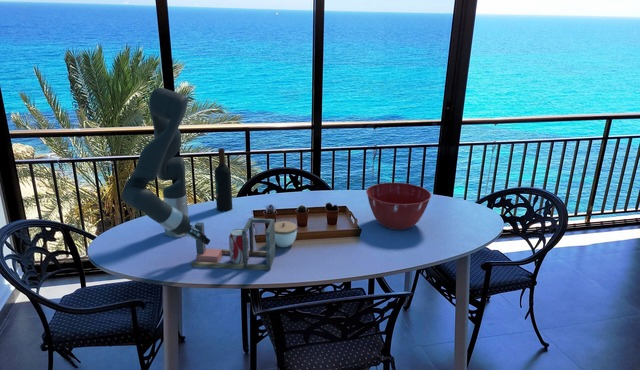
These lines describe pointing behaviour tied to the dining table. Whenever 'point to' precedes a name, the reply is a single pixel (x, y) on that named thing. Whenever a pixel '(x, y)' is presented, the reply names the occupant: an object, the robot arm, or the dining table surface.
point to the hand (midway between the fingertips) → (204, 240)
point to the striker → (204, 253)
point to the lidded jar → (285, 233)
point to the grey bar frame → (268, 253)
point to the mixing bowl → (398, 204)
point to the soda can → (237, 246)
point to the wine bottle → (223, 184)
